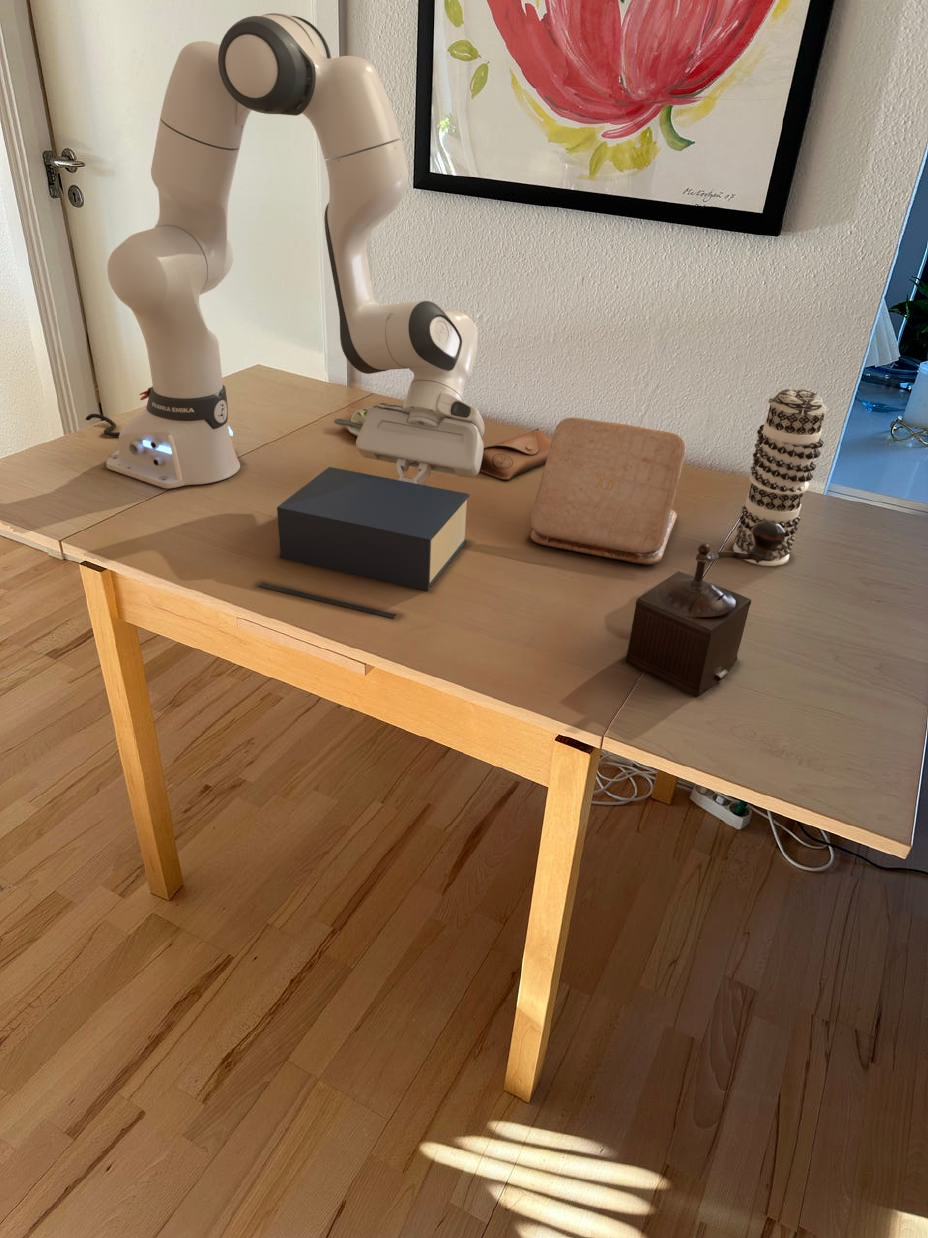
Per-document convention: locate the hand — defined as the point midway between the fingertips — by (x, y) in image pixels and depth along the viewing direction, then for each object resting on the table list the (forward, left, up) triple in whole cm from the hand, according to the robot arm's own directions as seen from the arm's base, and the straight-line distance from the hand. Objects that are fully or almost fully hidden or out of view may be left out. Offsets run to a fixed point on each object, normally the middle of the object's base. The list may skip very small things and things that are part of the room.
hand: (406, 490), depth 140 cm
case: (+30, +10, -5) cm, 32 cm away
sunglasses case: (+10, +31, -5) cm, 33 cm away
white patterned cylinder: (+54, +13, -5) cm, 56 cm away
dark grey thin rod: (0, -27, -5) cm, 28 cm away
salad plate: (-17, +35, -5) cm, 39 cm away
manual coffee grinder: (+48, -20, -5) cm, 52 cm away
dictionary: (0, -11, -5) cm, 12 cm away
